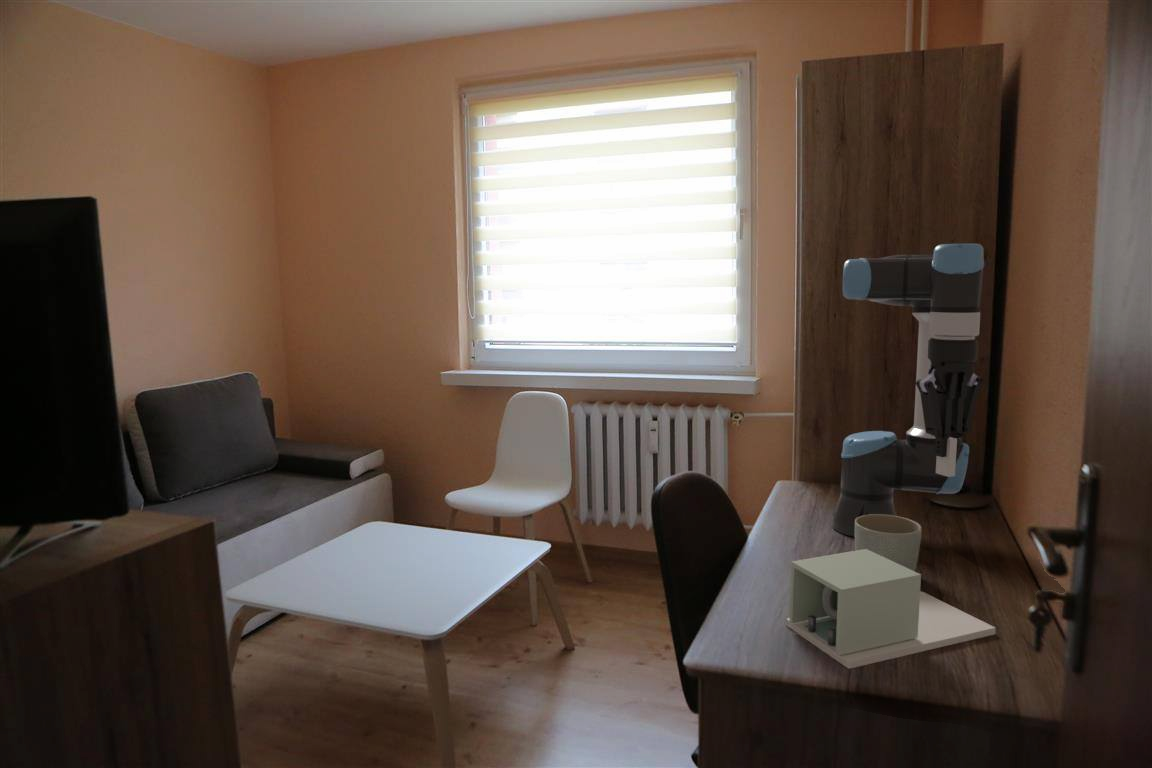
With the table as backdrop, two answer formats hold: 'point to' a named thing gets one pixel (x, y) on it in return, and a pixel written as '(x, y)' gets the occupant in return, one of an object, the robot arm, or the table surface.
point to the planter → (889, 538)
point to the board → (934, 631)
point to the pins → (830, 631)
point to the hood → (858, 598)
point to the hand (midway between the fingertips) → (945, 474)
